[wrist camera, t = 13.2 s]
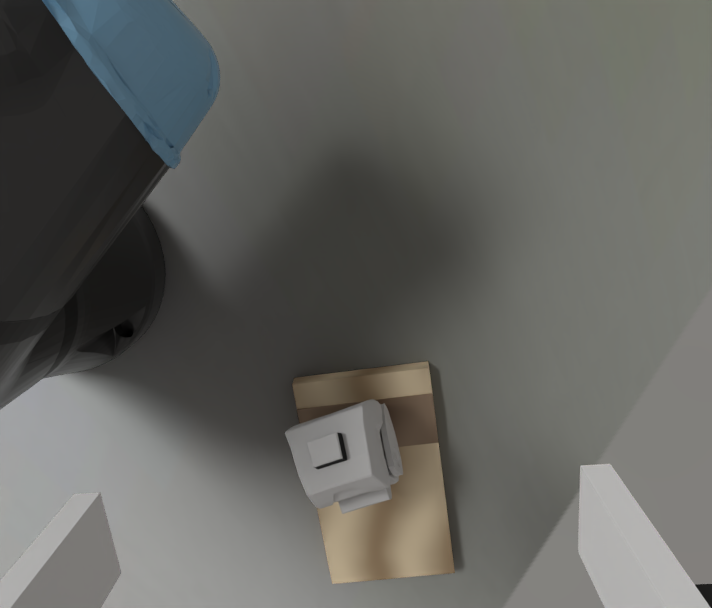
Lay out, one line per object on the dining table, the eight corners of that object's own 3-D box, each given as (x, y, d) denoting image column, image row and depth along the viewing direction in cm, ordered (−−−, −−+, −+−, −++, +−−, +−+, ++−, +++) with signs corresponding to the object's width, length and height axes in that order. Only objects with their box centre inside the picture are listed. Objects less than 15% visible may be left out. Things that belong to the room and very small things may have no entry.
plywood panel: (333, 572, 47) (332, 586, 45) (294, 377, 42) (291, 386, 40) (453, 561, 46) (455, 574, 44) (427, 361, 41) (429, 369, 39)
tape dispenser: (394, 408, 42) (355, 376, 33) (420, 497, 39) (384, 488, 31) (323, 432, 43) (267, 407, 34) (344, 520, 40) (287, 518, 32)
